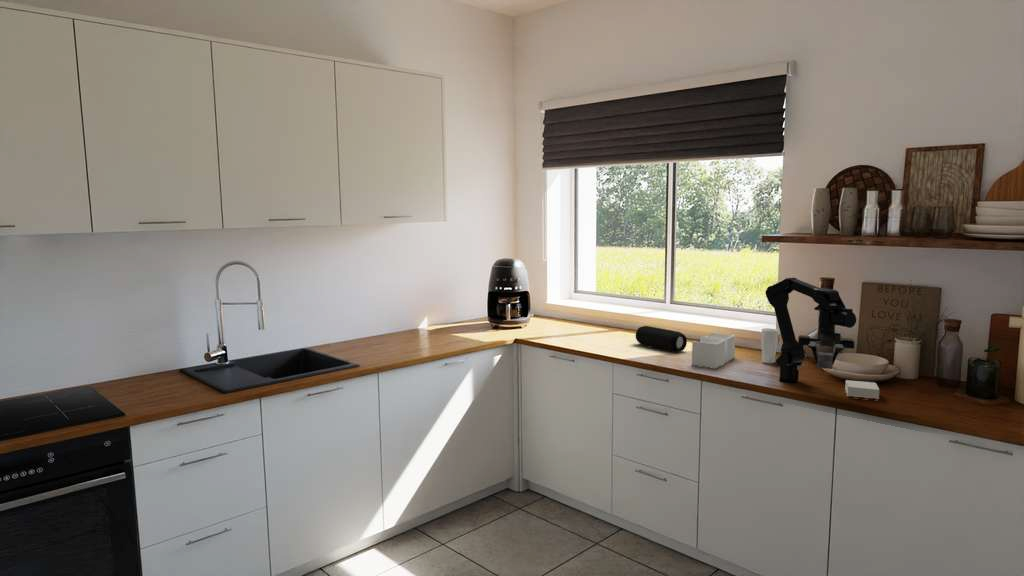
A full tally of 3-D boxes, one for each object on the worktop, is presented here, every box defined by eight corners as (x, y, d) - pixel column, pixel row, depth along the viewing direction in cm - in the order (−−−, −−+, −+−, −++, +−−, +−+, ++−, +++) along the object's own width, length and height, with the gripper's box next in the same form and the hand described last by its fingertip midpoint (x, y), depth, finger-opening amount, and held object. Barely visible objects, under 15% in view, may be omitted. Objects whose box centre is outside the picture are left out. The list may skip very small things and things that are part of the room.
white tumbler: (758, 363, 289) (760, 330, 287) (762, 360, 294) (763, 327, 292) (774, 365, 285) (776, 331, 283) (777, 361, 291) (779, 329, 289)
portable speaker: (687, 351, 313) (688, 331, 311) (674, 354, 307) (675, 333, 305) (647, 343, 333) (647, 324, 331) (634, 345, 327) (634, 326, 325)
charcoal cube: (817, 367, 241) (818, 354, 240) (816, 364, 246) (817, 352, 245) (832, 369, 239) (832, 355, 238) (831, 366, 244) (831, 353, 243)
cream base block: (847, 397, 236) (848, 386, 235) (845, 390, 245) (845, 380, 245) (878, 400, 232) (879, 389, 232) (875, 393, 241) (875, 382, 241)
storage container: (716, 369, 279) (717, 344, 278) (691, 365, 285) (692, 341, 284) (734, 358, 299) (735, 335, 298) (710, 355, 305) (711, 332, 304)
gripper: (800, 325, 236) (797, 366, 238) (857, 328, 229) (854, 371, 231) (799, 320, 247) (797, 360, 249) (854, 323, 240) (851, 364, 241)
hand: (824, 364), depth 242 cm, fingers closed on charcoal cube, 5 cm apart
